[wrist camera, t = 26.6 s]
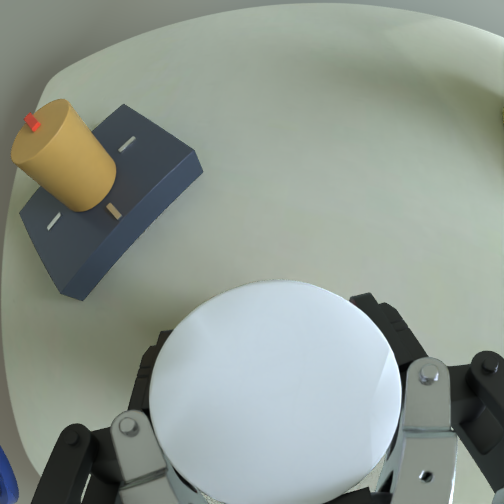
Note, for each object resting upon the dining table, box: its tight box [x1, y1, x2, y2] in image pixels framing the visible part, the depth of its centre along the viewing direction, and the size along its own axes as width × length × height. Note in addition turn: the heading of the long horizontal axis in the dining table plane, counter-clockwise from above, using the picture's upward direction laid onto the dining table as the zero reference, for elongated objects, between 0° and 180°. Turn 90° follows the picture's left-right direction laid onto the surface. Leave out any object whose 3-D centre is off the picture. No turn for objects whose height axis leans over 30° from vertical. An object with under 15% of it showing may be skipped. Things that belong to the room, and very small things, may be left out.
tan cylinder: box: [11, 99, 116, 212], centre depth 14 cm, size 4×4×6 cm
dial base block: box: [19, 104, 203, 301], centre depth 18 cm, size 12×9×3 cm
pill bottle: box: [149, 279, 402, 504], centre depth 10 cm, size 6×6×11 cm
